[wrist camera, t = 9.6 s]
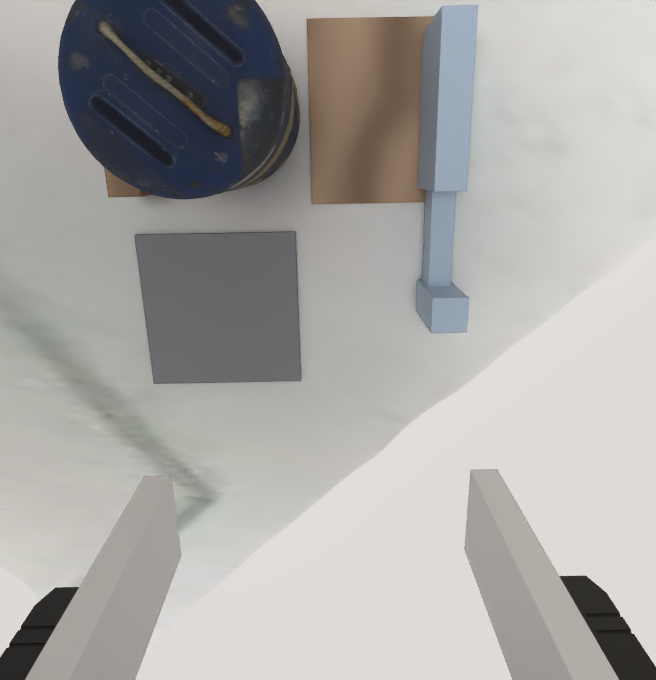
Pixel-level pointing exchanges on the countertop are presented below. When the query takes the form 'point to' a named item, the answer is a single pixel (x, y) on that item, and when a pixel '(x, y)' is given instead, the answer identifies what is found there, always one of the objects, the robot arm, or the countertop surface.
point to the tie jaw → (444, 158)
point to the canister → (179, 93)
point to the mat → (220, 306)
